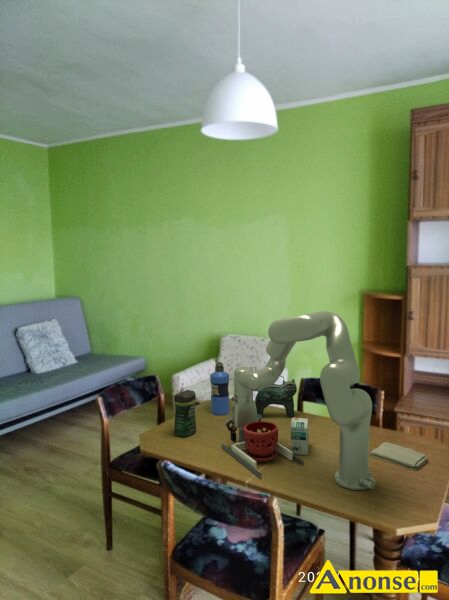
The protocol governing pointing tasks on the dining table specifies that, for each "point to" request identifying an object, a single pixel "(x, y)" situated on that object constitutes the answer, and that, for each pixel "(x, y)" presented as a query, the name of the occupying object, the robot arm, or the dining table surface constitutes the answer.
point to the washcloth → (399, 455)
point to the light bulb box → (299, 436)
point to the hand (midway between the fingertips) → (244, 438)
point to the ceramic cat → (277, 397)
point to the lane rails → (251, 466)
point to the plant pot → (261, 440)
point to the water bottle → (219, 391)
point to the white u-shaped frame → (238, 451)
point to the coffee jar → (185, 413)
